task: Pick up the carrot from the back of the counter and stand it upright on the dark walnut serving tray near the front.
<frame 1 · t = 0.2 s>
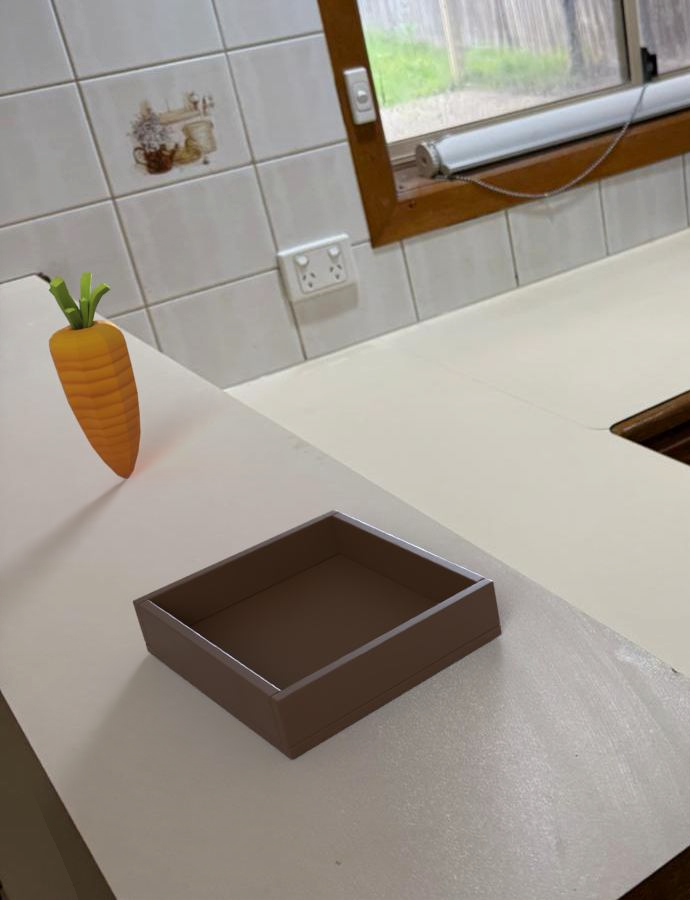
tray: (322, 643, 58), on the worktop
carrot: (127, 480, 81), on the worktop
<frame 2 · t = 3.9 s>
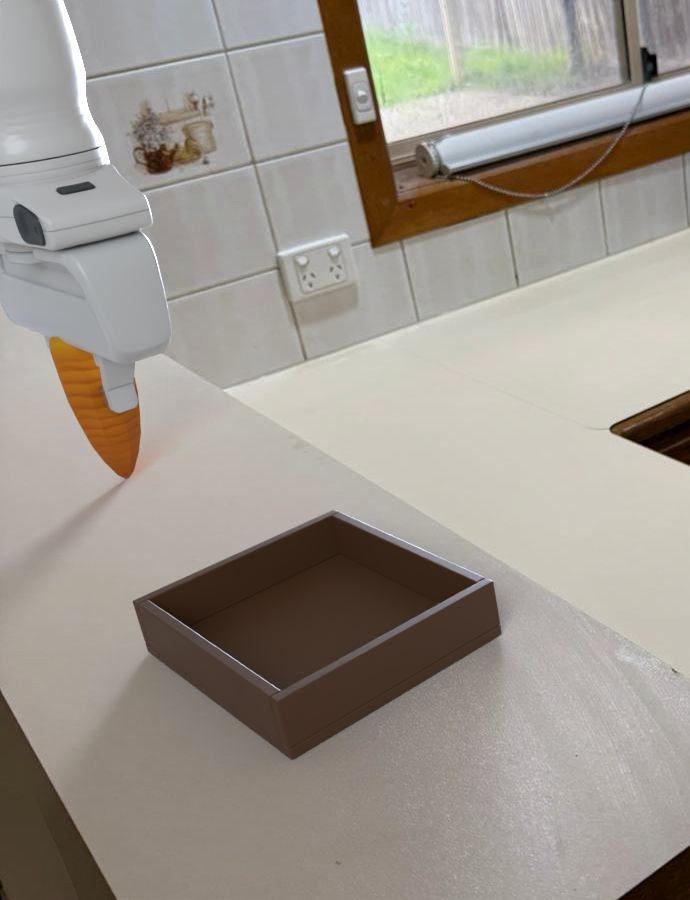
hand: (104, 400, 79), 6 cm above the worktop, tool pointing down, fingers closed on carrot, 5 cm apart
carrot: (127, 480, 81), on the worktop, touching gripper
when the fingers open (6 cm above the worktop, at t = 12.5 s): carrot stays where it is, resting on tray.
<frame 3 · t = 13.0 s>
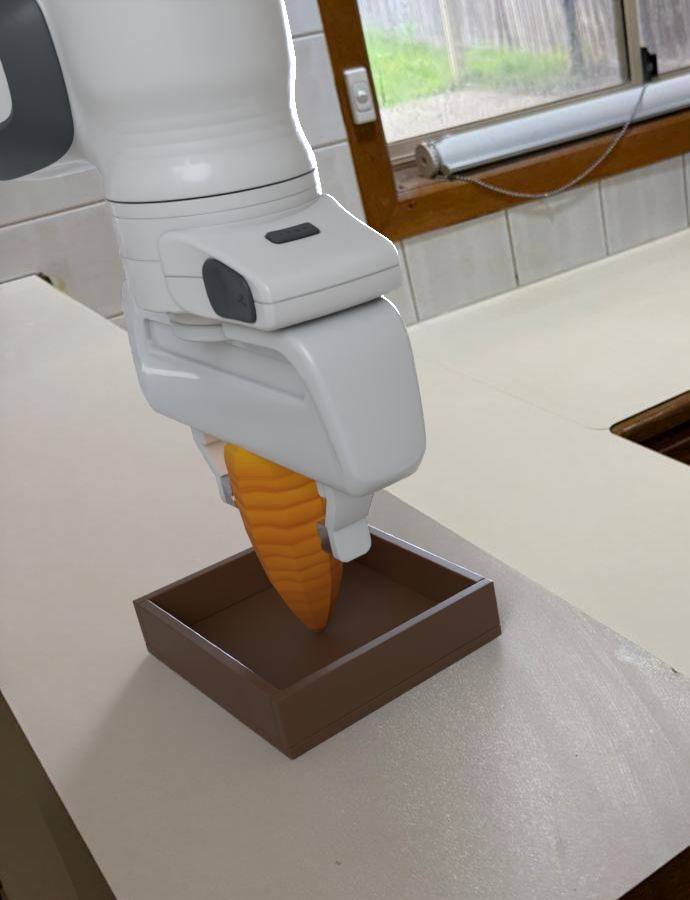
hand: (293, 526, 55), 7 cm above the worktop, tool pointing down, fingers open, 8 cm apart
carrot: (320, 634, 58), resting on tray
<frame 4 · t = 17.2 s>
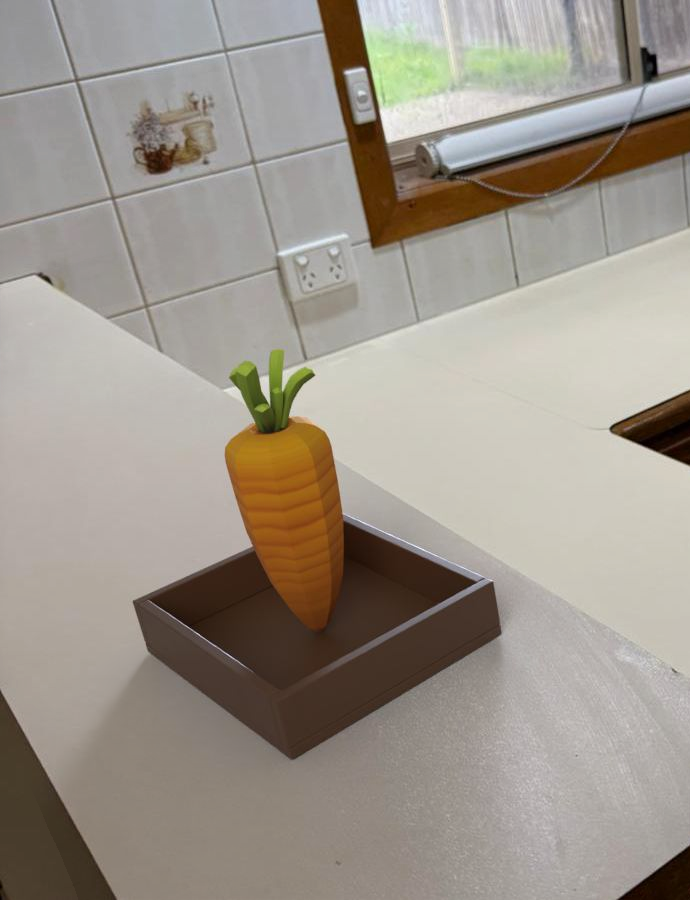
nothing on the worktop moved.
at the end: carrot inside the target area in the tray (0.2 cm from its centre), point 0.4 cm above the tray's base; carrot tilted 0°; the gripper is holding nothing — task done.
